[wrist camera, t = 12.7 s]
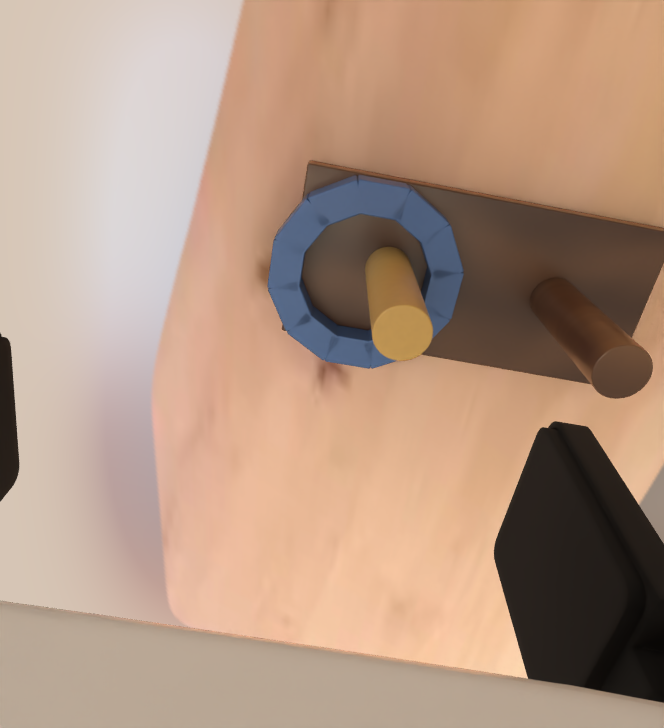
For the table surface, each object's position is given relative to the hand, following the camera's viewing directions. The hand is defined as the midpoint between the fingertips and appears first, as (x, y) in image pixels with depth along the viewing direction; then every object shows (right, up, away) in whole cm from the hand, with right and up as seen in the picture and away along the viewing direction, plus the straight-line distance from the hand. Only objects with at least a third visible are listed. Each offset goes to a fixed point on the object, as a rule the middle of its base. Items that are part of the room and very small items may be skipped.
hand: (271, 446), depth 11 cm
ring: (+3, +6, +21) cm, 22 cm away
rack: (+8, +6, +22) cm, 25 cm away
